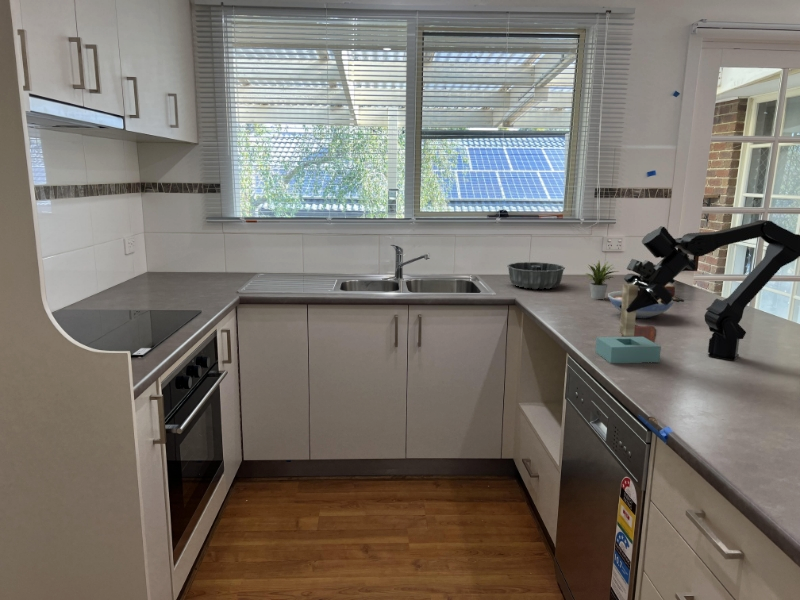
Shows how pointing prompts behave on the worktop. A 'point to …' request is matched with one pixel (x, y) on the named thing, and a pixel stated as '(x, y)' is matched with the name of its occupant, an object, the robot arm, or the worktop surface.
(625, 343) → the end cap
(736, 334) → the robot arm
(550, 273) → the bundt pan
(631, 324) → the slat
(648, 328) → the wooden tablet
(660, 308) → the ramen bowl
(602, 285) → the house plant
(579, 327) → the worktop surface
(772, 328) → the worktop surface
